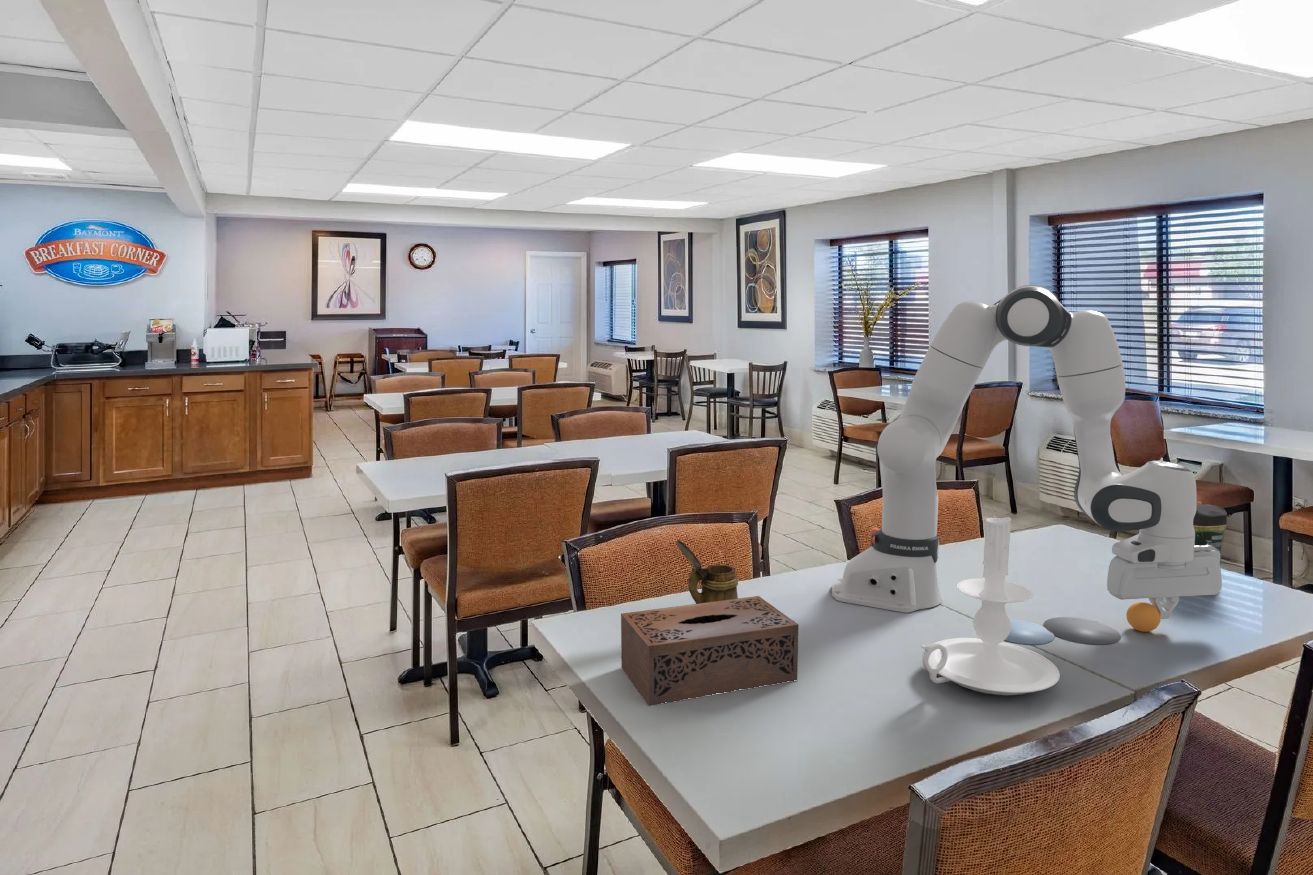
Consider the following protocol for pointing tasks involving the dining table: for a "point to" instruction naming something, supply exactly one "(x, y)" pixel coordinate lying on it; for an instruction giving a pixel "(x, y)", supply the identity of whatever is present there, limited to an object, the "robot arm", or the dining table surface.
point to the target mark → (1082, 630)
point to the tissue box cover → (707, 648)
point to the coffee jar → (1209, 526)
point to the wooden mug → (710, 579)
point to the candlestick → (991, 632)
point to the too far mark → (1028, 633)
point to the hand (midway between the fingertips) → (1162, 618)
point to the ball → (1143, 616)
